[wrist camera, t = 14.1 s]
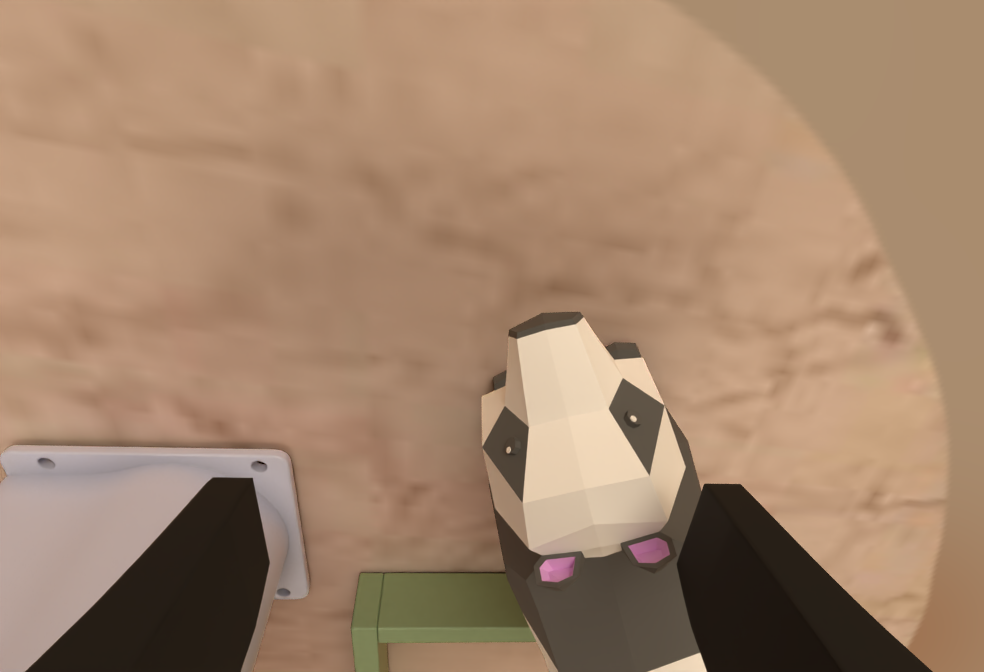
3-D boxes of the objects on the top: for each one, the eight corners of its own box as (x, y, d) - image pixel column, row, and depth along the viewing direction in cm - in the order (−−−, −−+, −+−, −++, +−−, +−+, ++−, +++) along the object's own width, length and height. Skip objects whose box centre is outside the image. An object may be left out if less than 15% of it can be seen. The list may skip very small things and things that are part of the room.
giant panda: (682, 534, 24) (788, 825, 16) (546, 562, 25) (578, 854, 16) (619, 181, 17) (752, 371, 9) (430, 233, 18) (383, 456, 9)
